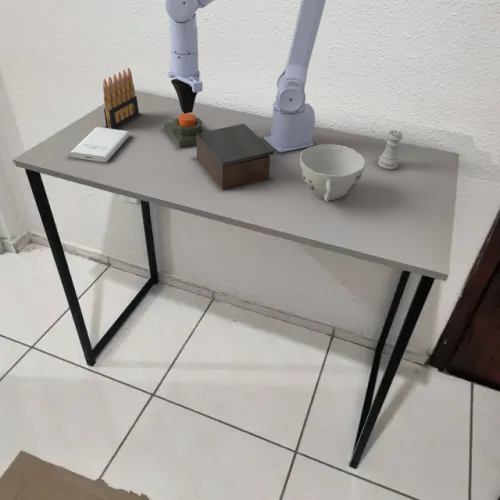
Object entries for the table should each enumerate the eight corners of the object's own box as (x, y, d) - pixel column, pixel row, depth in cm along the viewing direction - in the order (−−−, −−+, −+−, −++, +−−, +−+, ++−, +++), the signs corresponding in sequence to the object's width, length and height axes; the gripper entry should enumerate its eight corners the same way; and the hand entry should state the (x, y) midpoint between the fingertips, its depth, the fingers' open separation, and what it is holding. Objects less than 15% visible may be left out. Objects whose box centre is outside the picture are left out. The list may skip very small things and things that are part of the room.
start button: (176, 121, 110) (176, 114, 109) (192, 119, 112) (192, 112, 111) (182, 128, 108) (182, 121, 107) (198, 125, 109) (198, 118, 108)
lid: (243, 126, 104) (244, 123, 104) (273, 154, 95) (274, 150, 95) (196, 136, 100) (196, 133, 100) (222, 166, 91) (222, 163, 90)
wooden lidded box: (239, 150, 108) (240, 129, 104) (268, 179, 98) (270, 156, 95) (196, 159, 104) (196, 137, 100) (222, 190, 94) (222, 166, 91)
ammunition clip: (133, 113, 120) (127, 65, 112) (139, 115, 120) (134, 67, 112) (106, 129, 113) (98, 79, 105) (112, 131, 112) (104, 81, 104)
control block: (165, 130, 114) (163, 116, 112) (195, 124, 117) (195, 111, 115) (179, 148, 107) (178, 134, 105) (211, 142, 110) (211, 128, 108)
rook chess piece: (399, 163, 106) (408, 130, 101) (395, 172, 103) (404, 139, 98) (379, 158, 108) (387, 126, 102) (375, 167, 104) (383, 134, 99)
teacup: (299, 173, 101) (304, 139, 96) (358, 181, 99) (366, 147, 94) (290, 212, 90) (294, 175, 84) (356, 222, 88) (364, 185, 83)
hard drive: (129, 137, 110) (106, 162, 100) (96, 133, 111) (71, 157, 101) (128, 131, 109) (105, 156, 99) (95, 126, 110) (69, 150, 100)
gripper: (155, 42, 103) (160, 102, 111) (178, 63, 93) (182, 127, 102) (185, 39, 105) (188, 98, 114) (211, 59, 96) (212, 122, 104)
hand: (187, 111), depth 108 cm, fingers closed
